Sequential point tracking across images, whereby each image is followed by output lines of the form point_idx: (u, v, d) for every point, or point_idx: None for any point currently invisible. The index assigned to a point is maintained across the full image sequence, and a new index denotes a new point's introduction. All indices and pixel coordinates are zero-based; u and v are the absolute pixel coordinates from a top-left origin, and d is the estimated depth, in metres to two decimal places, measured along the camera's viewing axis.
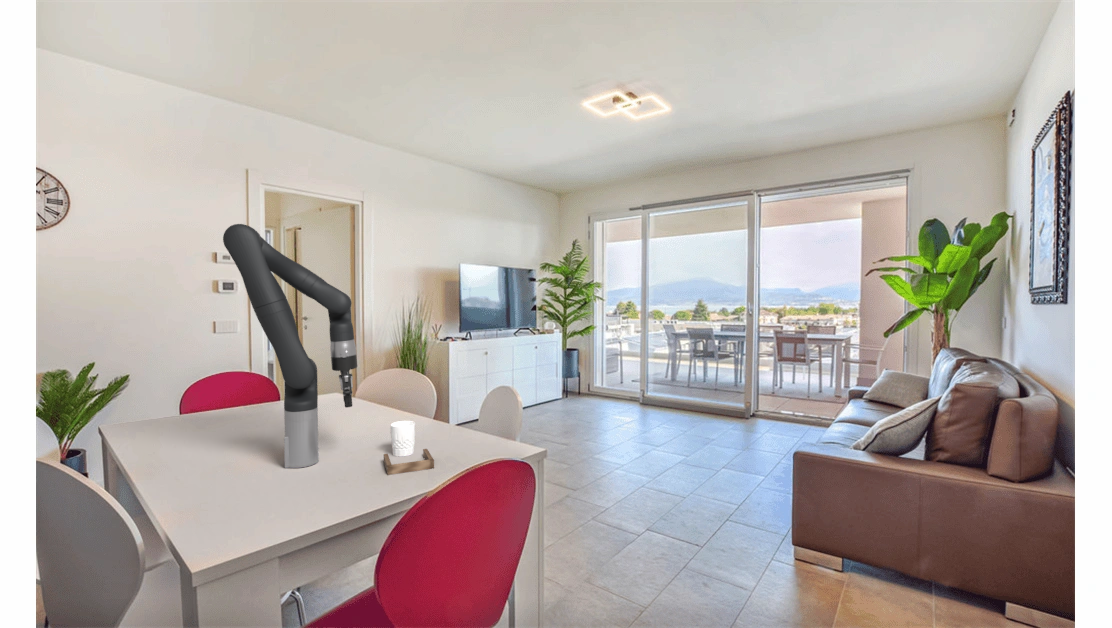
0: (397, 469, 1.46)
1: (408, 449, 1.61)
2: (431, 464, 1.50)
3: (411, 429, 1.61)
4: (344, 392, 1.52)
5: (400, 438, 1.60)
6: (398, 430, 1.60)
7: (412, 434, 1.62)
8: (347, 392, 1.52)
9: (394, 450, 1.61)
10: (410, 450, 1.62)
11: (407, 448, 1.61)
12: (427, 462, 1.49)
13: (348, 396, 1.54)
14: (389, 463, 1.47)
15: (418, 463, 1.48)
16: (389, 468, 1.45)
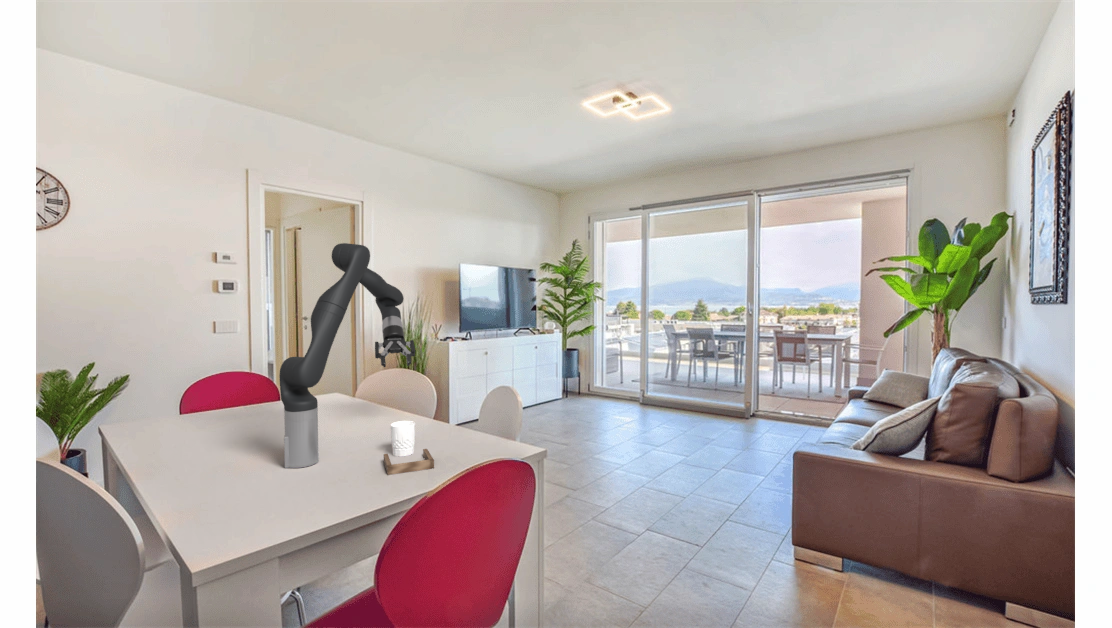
0: (397, 469, 1.46)
1: (408, 449, 1.61)
2: (431, 464, 1.50)
3: (411, 429, 1.61)
4: None
5: (400, 438, 1.60)
6: (398, 430, 1.60)
7: (412, 434, 1.62)
8: None
9: (394, 450, 1.61)
10: (410, 450, 1.62)
11: (407, 448, 1.61)
12: (427, 462, 1.49)
13: (410, 356, 1.83)
14: (389, 463, 1.47)
15: (418, 463, 1.48)
16: (389, 468, 1.45)
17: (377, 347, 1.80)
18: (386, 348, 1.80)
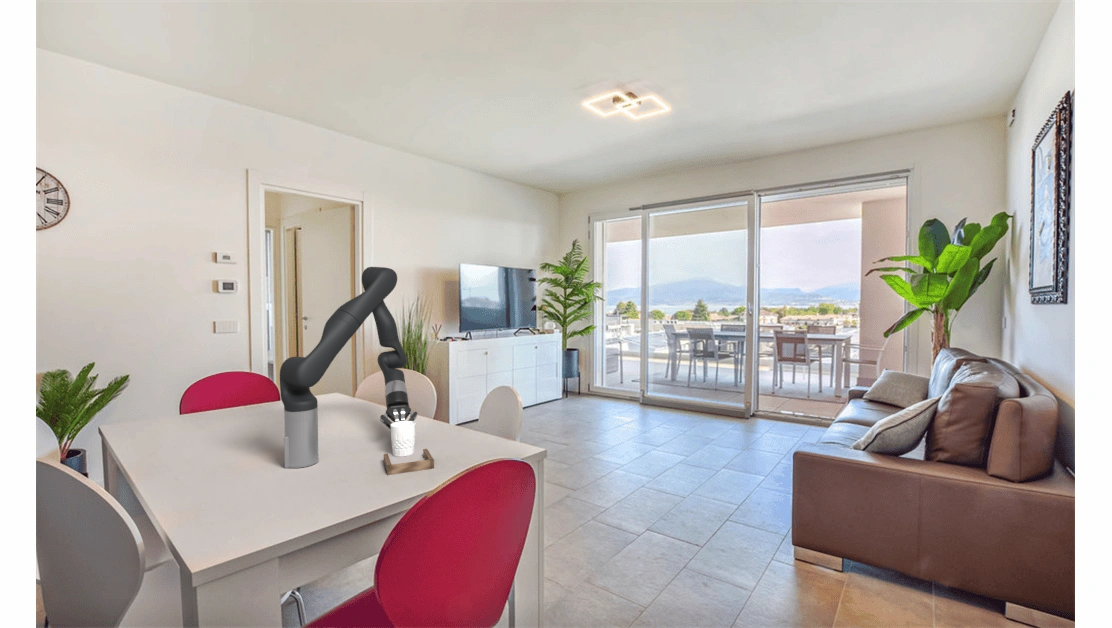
0: (397, 469, 1.46)
1: (409, 449, 1.61)
2: (431, 464, 1.50)
3: (411, 429, 1.61)
4: None
5: (400, 438, 1.60)
6: (398, 430, 1.59)
7: (412, 434, 1.62)
8: None
9: (394, 450, 1.61)
10: (410, 450, 1.62)
11: (407, 448, 1.61)
12: (427, 462, 1.49)
13: None
14: (389, 463, 1.47)
15: (418, 463, 1.48)
16: (389, 468, 1.45)
17: (387, 419, 1.69)
18: (396, 418, 1.70)
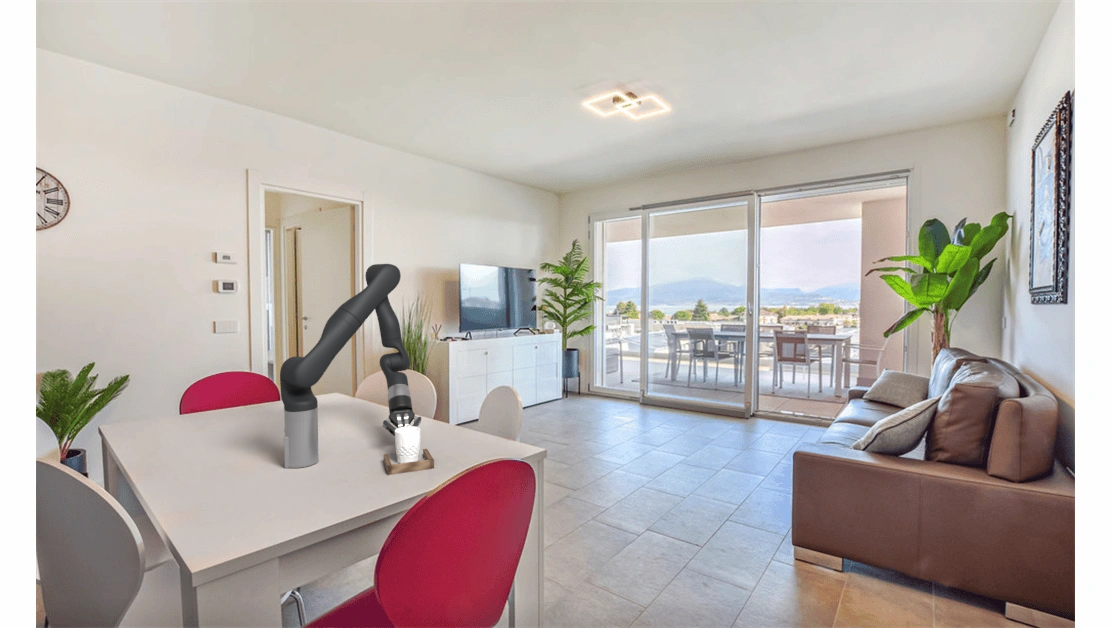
0: (397, 469, 1.46)
1: (414, 456, 1.55)
2: (431, 464, 1.50)
3: (417, 435, 1.55)
4: None
5: (406, 445, 1.53)
6: (404, 436, 1.53)
7: (418, 440, 1.55)
8: None
9: (399, 457, 1.54)
10: (416, 457, 1.55)
11: (413, 455, 1.54)
12: (427, 462, 1.49)
13: None
14: (389, 463, 1.47)
15: (418, 463, 1.48)
16: (389, 468, 1.45)
17: (390, 425, 1.62)
18: (399, 424, 1.63)
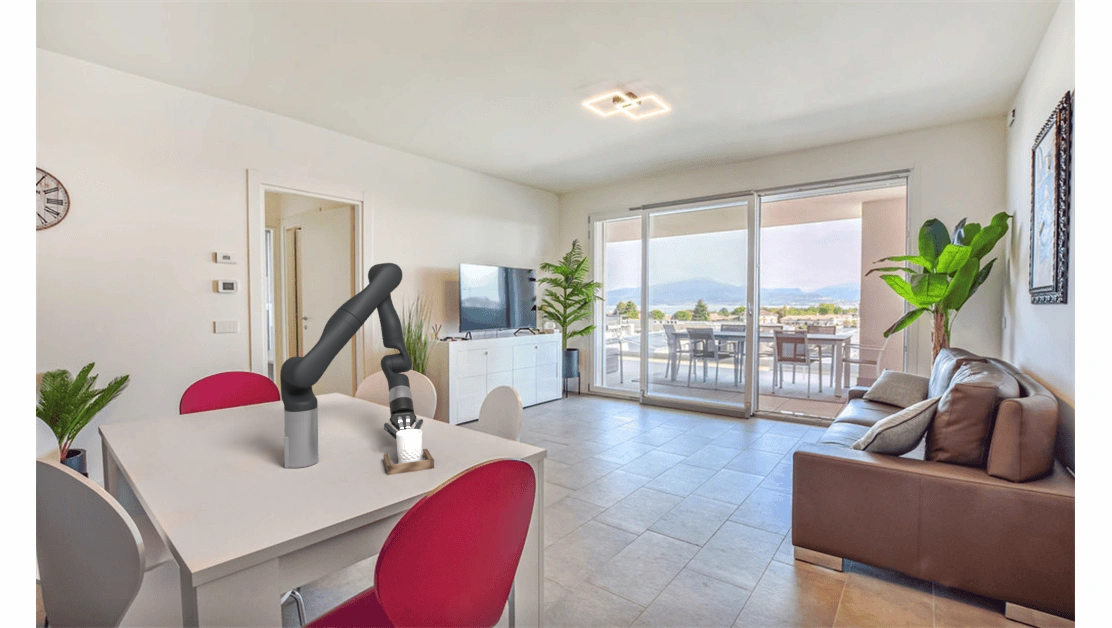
0: (397, 469, 1.46)
1: (416, 459, 1.52)
2: (431, 464, 1.50)
3: (418, 438, 1.52)
4: None
5: (407, 448, 1.50)
6: (406, 439, 1.49)
7: (419, 443, 1.52)
8: None
9: (400, 461, 1.51)
10: None
11: (415, 458, 1.51)
12: (427, 462, 1.49)
13: None
14: (389, 463, 1.47)
15: (418, 463, 1.48)
16: (389, 468, 1.45)
17: (391, 428, 1.59)
18: (401, 426, 1.60)
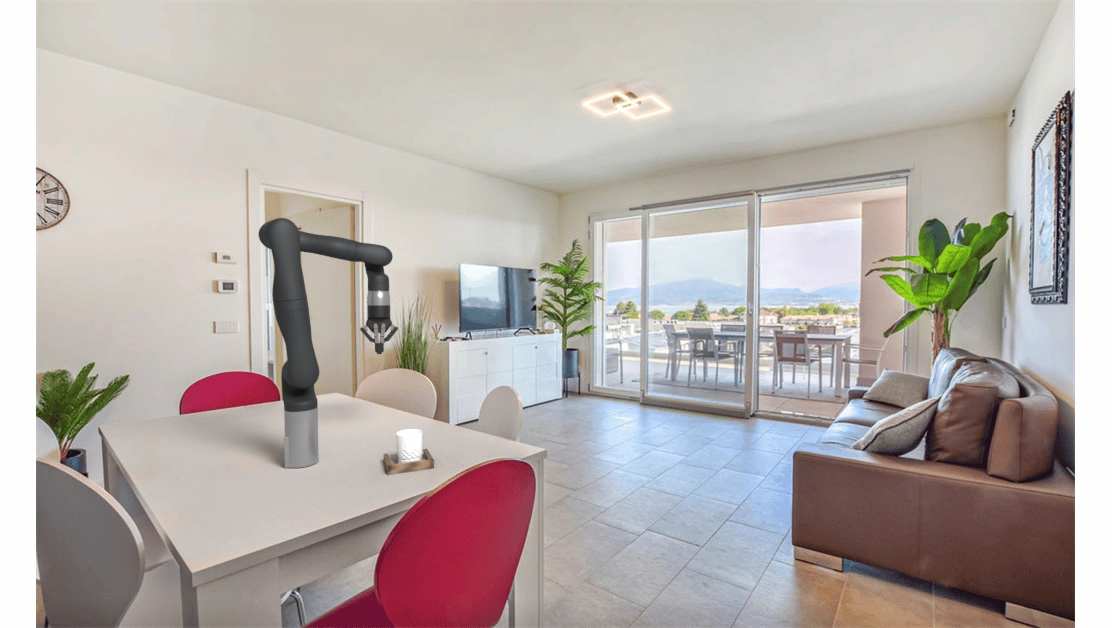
0: (397, 469, 1.46)
1: (416, 459, 1.52)
2: (431, 464, 1.50)
3: (418, 438, 1.52)
4: None
5: (407, 448, 1.50)
6: (406, 439, 1.49)
7: (419, 443, 1.52)
8: None
9: (401, 461, 1.51)
10: None
11: (415, 458, 1.51)
12: (427, 462, 1.49)
13: None
14: (389, 463, 1.47)
15: (418, 463, 1.48)
16: (389, 468, 1.45)
17: (366, 333, 1.69)
18: (376, 334, 1.70)
